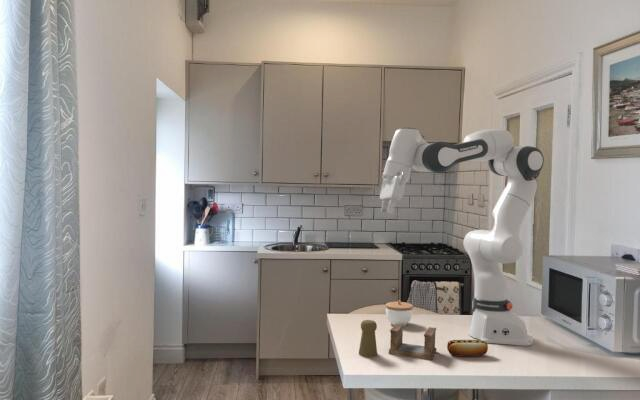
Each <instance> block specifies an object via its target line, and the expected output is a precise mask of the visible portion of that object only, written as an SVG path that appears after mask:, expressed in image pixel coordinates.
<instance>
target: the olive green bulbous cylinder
mask: <svg viewBox="0 0 640 400" xmlns="http://www.w3.org/2000/svg"><path fill="white" fill-rule="evenodd" d="M377 327H378V324H377V322H376V321H374V319H373V320H372V319H365V320H362V321H361V323H360V329H361V337H360V342H359V348H358V349H359V350H358V355H359V356H361V357H364V358H375V357H377V355H378V349H377V340H376V338H377V337H376V330H377Z"/></svg>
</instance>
